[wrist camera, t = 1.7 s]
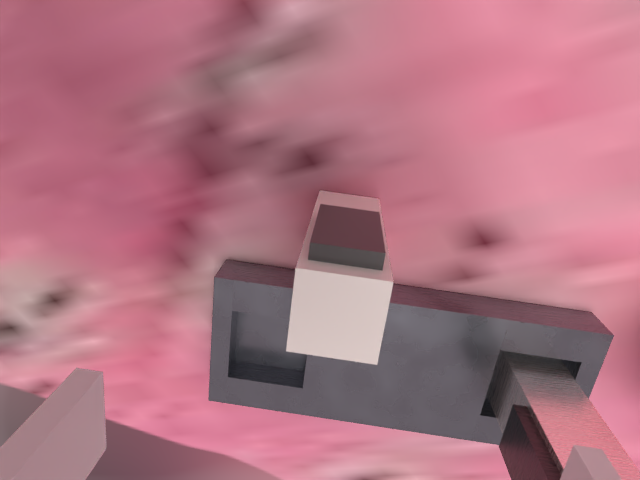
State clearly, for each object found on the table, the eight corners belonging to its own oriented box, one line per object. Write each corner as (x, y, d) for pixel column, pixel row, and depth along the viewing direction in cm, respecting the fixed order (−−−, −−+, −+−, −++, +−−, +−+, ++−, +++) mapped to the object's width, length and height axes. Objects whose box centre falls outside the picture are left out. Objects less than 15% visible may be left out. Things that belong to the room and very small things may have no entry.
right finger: (369, 253, 32) (377, 364, 20) (312, 245, 32) (286, 351, 20) (381, 186, 31) (397, 263, 18) (321, 178, 31) (297, 249, 19)
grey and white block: (226, 259, 33) (141, 383, 20) (591, 312, 33) (750, 476, 19) (219, 375, 37) (143, 544, 24) (549, 425, 36) (659, 628, 23)
